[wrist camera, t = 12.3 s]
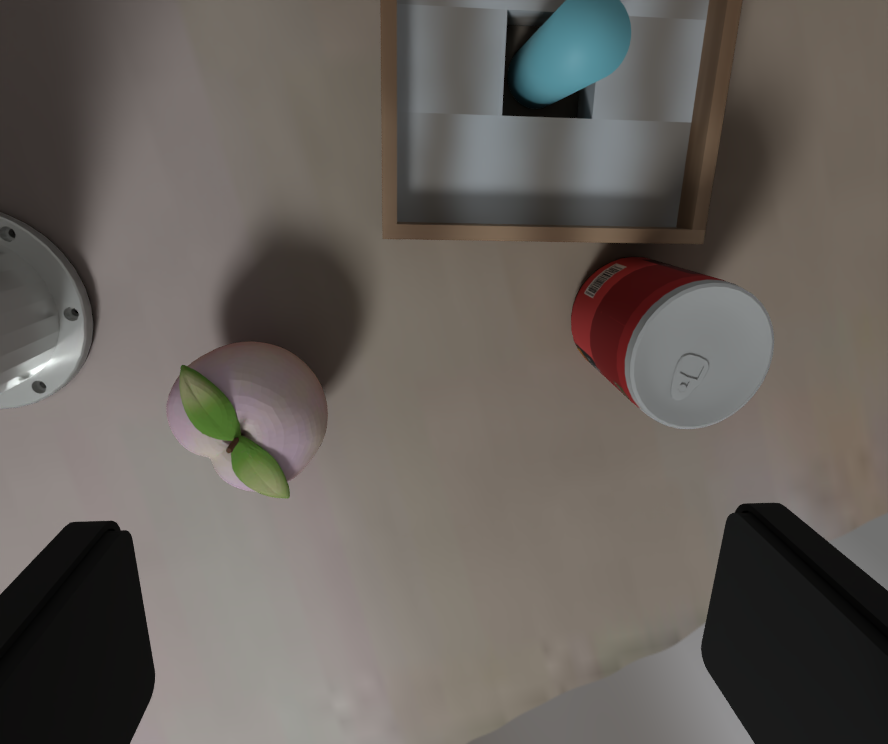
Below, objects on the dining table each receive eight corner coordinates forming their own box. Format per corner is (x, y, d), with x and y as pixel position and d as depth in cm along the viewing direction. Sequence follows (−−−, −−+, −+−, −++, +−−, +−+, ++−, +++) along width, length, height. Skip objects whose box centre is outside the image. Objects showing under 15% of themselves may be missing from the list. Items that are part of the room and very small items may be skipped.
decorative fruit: (363, 391, 40) (354, 456, 30) (279, 465, 41) (246, 550, 32) (262, 292, 37) (217, 329, 28) (175, 374, 38) (105, 436, 29)
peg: (509, 41, 34) (554, -14, 24) (568, 43, 34) (636, -10, 25) (505, 107, 35) (547, 79, 26) (563, 109, 35) (626, 83, 26)
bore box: (383, 231, 37) (382, 238, 32) (381, -124, 31) (378, -180, 26) (665, 236, 38) (703, 244, 34) (712, -101, 32) (766, -149, 28)
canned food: (558, 363, 40) (615, 426, 30) (578, 249, 38) (648, 274, 28) (661, 372, 41) (752, 435, 31) (687, 260, 39) (794, 288, 28)
